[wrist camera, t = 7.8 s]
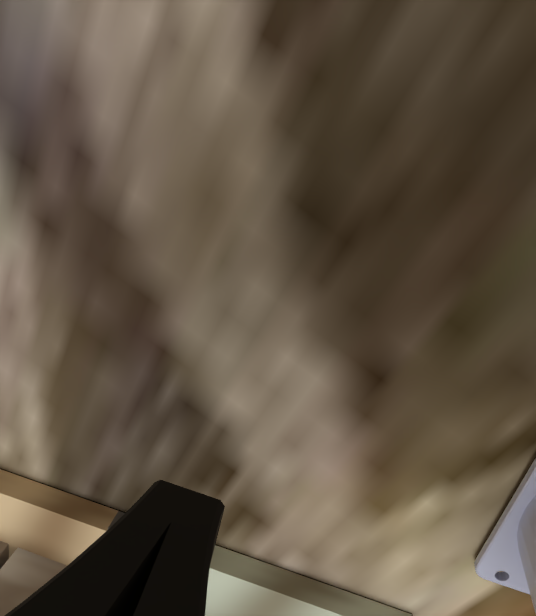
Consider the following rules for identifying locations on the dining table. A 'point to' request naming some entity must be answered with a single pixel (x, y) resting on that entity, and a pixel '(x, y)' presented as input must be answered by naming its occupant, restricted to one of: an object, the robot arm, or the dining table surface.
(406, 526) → the dining table surface
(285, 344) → the dining table surface
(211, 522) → the robot arm
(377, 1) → the dining table surface
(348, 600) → the base
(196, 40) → the dining table surface
